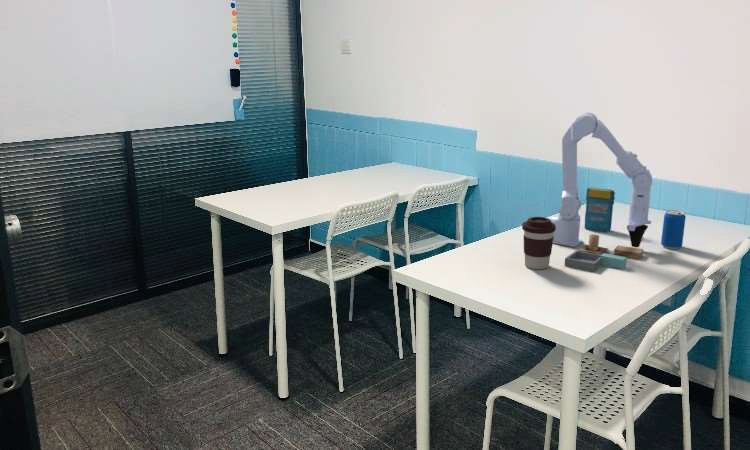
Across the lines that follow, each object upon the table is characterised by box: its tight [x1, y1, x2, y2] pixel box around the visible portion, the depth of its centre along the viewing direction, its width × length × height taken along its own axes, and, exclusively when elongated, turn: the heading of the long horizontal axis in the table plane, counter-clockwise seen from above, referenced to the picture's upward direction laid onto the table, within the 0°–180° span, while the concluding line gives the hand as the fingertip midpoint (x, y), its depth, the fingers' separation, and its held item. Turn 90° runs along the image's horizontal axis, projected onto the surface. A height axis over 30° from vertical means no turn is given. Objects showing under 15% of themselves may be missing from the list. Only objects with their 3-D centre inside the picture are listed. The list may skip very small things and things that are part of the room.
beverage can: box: [660, 209, 686, 250], centre depth 217 cm, size 6×6×12 cm
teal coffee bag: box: [584, 187, 616, 233], centre depth 236 cm, size 10×4×15 cm, turn 58°
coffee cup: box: [521, 216, 556, 270], centre depth 200 cm, size 10×10×15 cm
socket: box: [577, 244, 609, 255], centre depth 210 cm, size 7×7×2 cm
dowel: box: [588, 234, 600, 252], centre depth 209 cm, size 3×3×7 cm
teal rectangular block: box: [600, 253, 628, 270], centre depth 201 cm, size 7×3×3 cm, turn 53°
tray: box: [564, 250, 602, 272], centre depth 203 cm, size 9×9×2 cm
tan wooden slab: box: [613, 245, 644, 261], centre depth 210 cm, size 8×5×2 cm, turn 58°
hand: (635, 246), depth 216 cm, fingers closed
